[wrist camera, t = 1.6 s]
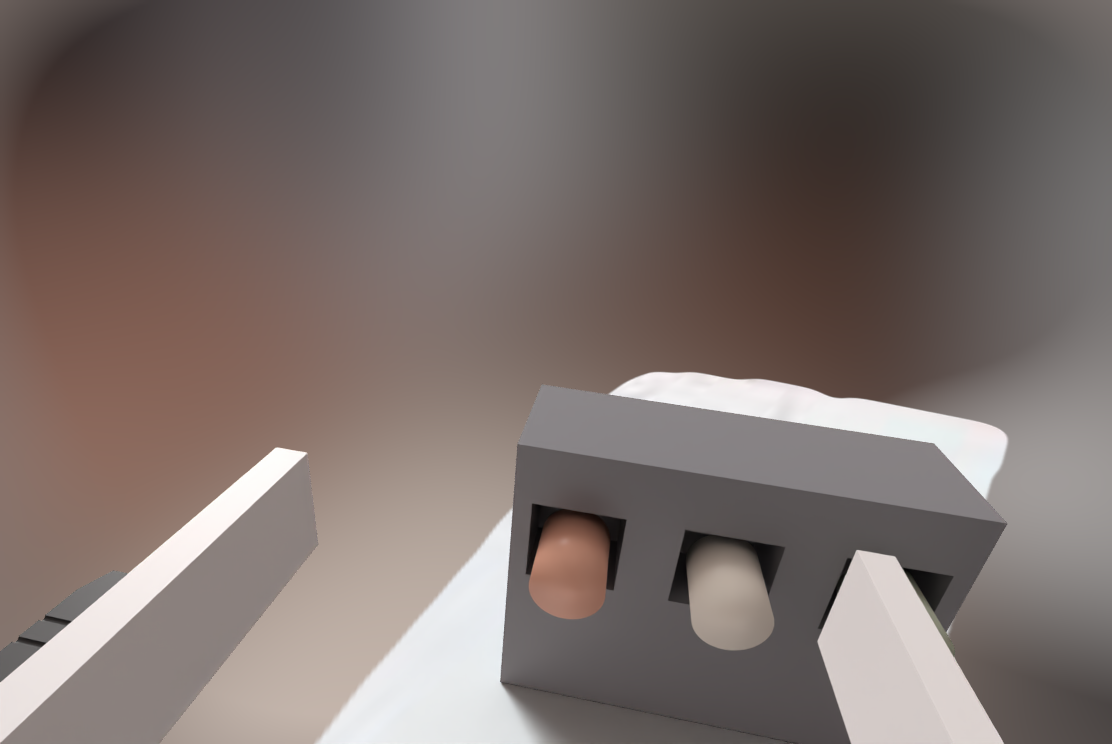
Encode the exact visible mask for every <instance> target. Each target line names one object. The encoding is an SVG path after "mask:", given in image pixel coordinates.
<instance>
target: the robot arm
mask: <svg viewBox="0 0 1112 744" xmlns="http://www.w3.org/2000/svg"><path fill="white" fill-rule="evenodd" d="M317 545H318V540H317V531H316V522H315V514H314V505H313V497H312V488H311V480H310V471H309V463H308V454H307V453H305V452H299V451H293V450H288V449H282V448H275V449H274V450H273V451H272V452H271V453H269V454H268V455H267V456H266V457H265V458H264V459H262V460H261V461H260V462H259V463H258V464H257V465H255V466H254V467H253V468H252V469H251V470H249V471H248V472H247V473H246V474H245V475H244V476H242V477H241V478H240V479H239V480H238V481H237V482H235V483H234V484H233V485H232V486H231V487H229V488H228V489H227V490H226V491H225V492H224V493H222V494H221V495H220V496H219V497H218V498H217V499H216V500H214V501H213V502H212V503H211V504H209V505H208V506H207V507H206V508H205V509H204V510H203V511H201V512H200V513H199V514H198V515H197V516H195V517H194V518H193V519H192V520H191V521H190V522H188V523H187V524H186V525H185V526H184V527H183V528H181V529H180V530H179V531H178V532H177V533H175V534H174V535H173V536H172V537H171V538H170V539H169V540H167V541H166V542H165V543H164V544H162V545H161V546H160V547H159V548H158V549H157V550H156V551H154V552H153V553H152V554H151V555H150V556H148V557H147V558H146V559H145V560H144V561H143V562H141V563H140V564H139V565H138V566H137V567H135V568H134V569H133V570H132V571H131V572H130V573H128V574H127V573H123V572H118V571H112V572H110V573H108V574H106V575H104V576H102V577H100V578H98V579H96V580H94V581H93V582H91V583H89V584H87V585H85V586H83V587H81V588H79V589H77V590H76V591H75V592H73V593H72V594H71V595H70V596H68V597H67V598H66V599H65V600H63V601H62V602H61V603H60V604H59V605H57V606H56V607H55V608H53V609H52V610H51V611H50V612H49V613H47V614H46V615H45V618H44V619H43V620H42V621H40V620H38V621H37V622H36V623H35V624H34V625H32V626H31V627H30V628H28V629H27V630H26V631H25V632H24V633H22V634H21V635H20V636H19V638H18V640H17V641H16V642H11V643H10V644H9V645H7V646H6V647H5V648H4V649H2V650H1V651H0V744H159V743H160V742H161V741H162V740H163V738H164V737H165V736H166V735H167V733H168V732H169V731H170V730H171V728H172V727H173V726H174V724H175V723H176V722H177V721H178V720H179V718H180V717H181V716H182V715H183V713H184V712H185V711H186V709H187V708H188V707H189V706H190V704H191V703H192V702H193V701H194V699H195V698H196V697H197V696H198V694H199V693H200V692H201V691H202V689H203V688H204V687H205V686H206V684H207V683H208V682H209V681H210V679H211V678H212V677H213V676H214V674H215V673H216V672H217V670H218V669H219V668H220V667H221V666H222V664H223V663H224V662H225V661H226V659H227V658H228V657H229V656H230V654H231V653H232V652H233V651H234V649H235V648H236V647H237V646H238V644H239V643H240V642H241V641H242V639H243V638H244V637H245V636H246V634H247V633H248V632H249V631H250V629H251V628H252V627H253V625H254V624H255V623H256V622H257V621H258V619H259V618H260V617H261V616H262V614H263V613H264V612H265V611H266V609H267V608H268V607H269V606H270V604H271V603H272V602H273V601H274V599H275V598H276V597H277V595H278V594H279V593H280V592H281V591H282V589H283V588H284V587H285V586H286V584H287V583H288V582H289V580H290V579H291V578H292V577H293V575H294V574H295V573H296V572H297V570H298V569H299V568H300V567H301V565H302V564H303V563H304V562H305V560H306V559H307V558H308V556H309V555H310V554H311V553H312V551H313V550H314V549H315V548H316V547H317ZM817 642H818V645H819V648H820V651H821V654H822V657H823V660H824V663H825V666H826V669H827V672H828V675H829V678H830V681H831V684H832V687H833V690H834V693H835V696H836V700H837V703H838V706H839V709H840V712H841V715H842V718H843V721H844V724H845V727H846V730H847V733H848V736H849V739H850V742H851V744H1004V743H1003V741H1002V739H1001V738H1000V736H999V734H998V732H997V731H996V729H995V727H994V726H993V724H992V722H991V720H990V719H989V717H988V715H987V714H986V712H985V710H984V708H983V707H982V705H981V703H980V702H979V700H978V698H977V696H976V695H975V693H974V691H973V689H972V688H971V686H970V684H969V683H968V681H967V679H966V677H965V676H964V674H963V672H962V671H961V669H960V667H959V665H958V664H957V662H956V660H955V658H954V657H953V655H952V653H951V652H950V650H949V648H948V646H947V645H946V643H945V641H944V640H943V638H942V636H941V634H940V633H939V631H938V629H937V628H936V626H935V624H934V622H933V621H932V619H931V617H930V616H929V614H928V612H927V610H926V609H925V607H924V605H923V603H922V602H921V600H920V598H919V597H918V595H917V593H916V591H915V590H914V588H913V586H912V585H911V583H910V581H909V579H908V578H907V576H906V574H905V573H904V571H903V569H902V567H901V566H900V564H899V562H898V560H897V559H896V557H895V556H889V555H884V554H878V553H872V552H867V551H861V550H856V553H855V555H854V557H853V560H852V562H851V564H850V567H849V569H848V571H847V574H846V576H845V578H844V580H843V583H842V585H841V587H840V590H839V592H838V594H837V597H836V599H835V601H834V604H833V606H832V608H831V611H830V613H829V615H828V618H827V620H826V622H825V625H824V627H823V629H822V632H821V634H820V636H819V639H818V641H817Z"/></svg>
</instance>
